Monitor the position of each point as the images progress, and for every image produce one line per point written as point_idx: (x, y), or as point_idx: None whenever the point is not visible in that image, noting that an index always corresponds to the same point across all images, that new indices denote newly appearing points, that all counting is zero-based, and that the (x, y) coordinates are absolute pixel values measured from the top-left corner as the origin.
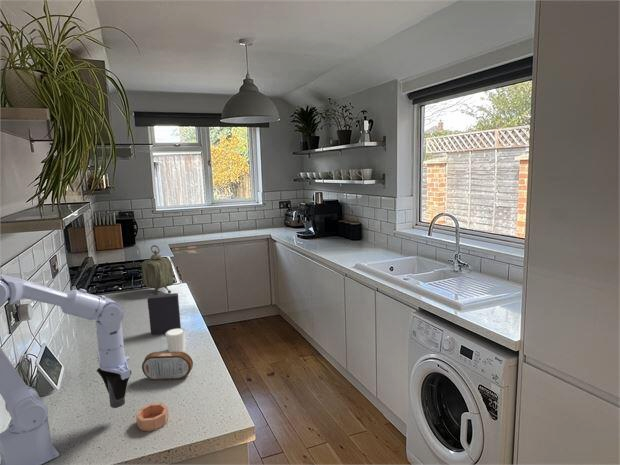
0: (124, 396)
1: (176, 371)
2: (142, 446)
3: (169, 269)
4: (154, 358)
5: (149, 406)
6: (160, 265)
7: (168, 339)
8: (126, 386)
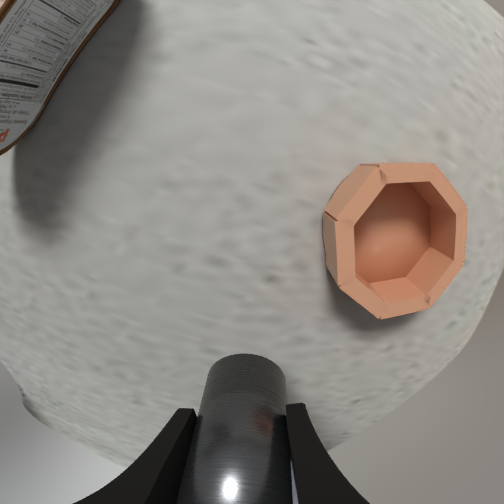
0: (305, 406)
1: (81, 7)
2: (461, 307)
3: None
4: None
5: (352, 235)
6: None
7: None
8: (325, 454)
